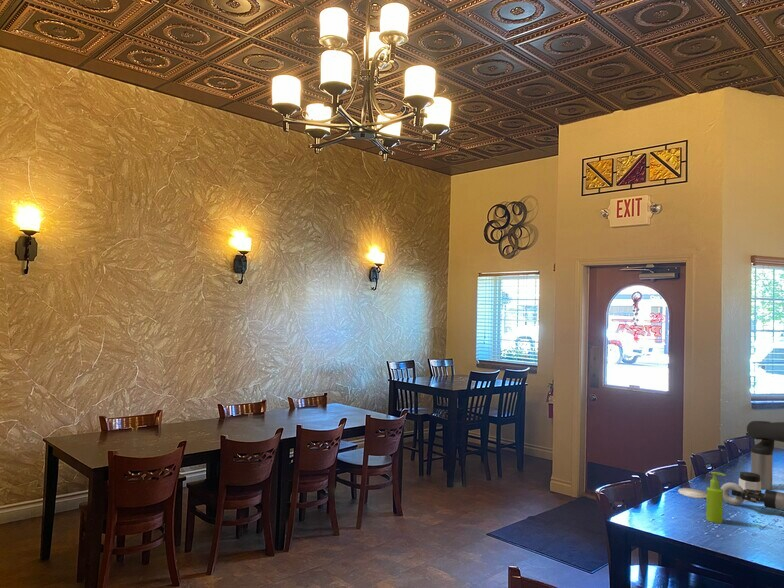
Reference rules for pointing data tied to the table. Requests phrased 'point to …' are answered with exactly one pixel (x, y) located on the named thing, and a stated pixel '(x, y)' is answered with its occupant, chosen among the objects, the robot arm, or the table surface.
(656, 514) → the table surface
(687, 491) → the plate
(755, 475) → the jar
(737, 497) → the donut
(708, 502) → the soap dispenser
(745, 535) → the table surface
